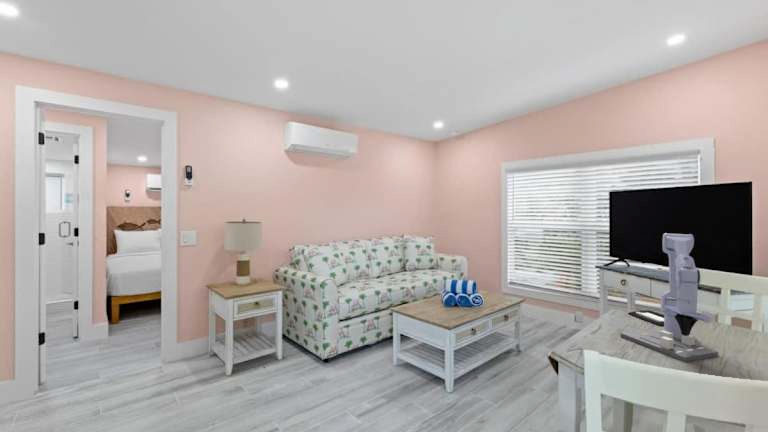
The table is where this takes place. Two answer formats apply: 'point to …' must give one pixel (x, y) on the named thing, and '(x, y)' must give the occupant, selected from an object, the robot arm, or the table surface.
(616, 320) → the table surface
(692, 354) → the breaker panel
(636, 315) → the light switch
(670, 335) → the handle
